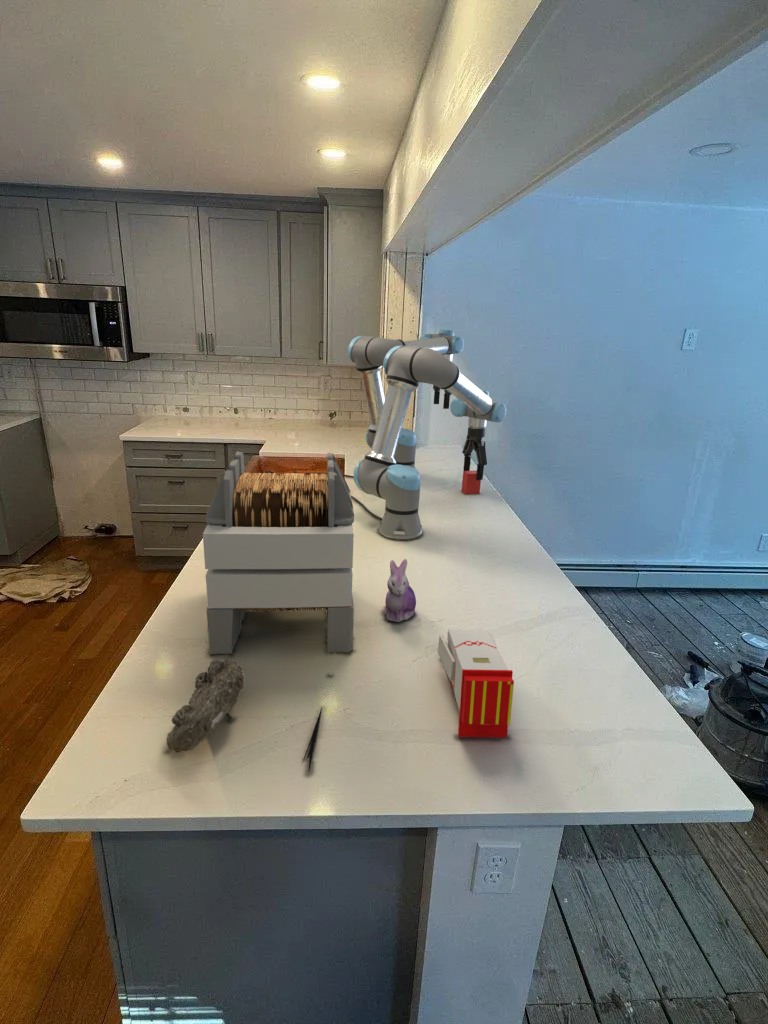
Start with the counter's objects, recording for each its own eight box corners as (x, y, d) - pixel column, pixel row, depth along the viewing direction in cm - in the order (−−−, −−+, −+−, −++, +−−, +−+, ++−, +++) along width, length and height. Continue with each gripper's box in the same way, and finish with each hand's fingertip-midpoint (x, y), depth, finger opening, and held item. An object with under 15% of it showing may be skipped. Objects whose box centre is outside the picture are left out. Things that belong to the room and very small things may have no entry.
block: (479, 493, 248) (481, 473, 245) (465, 494, 246) (467, 473, 243) (475, 490, 252) (477, 470, 249) (461, 491, 251) (463, 470, 247)
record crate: (229, 585, 158) (221, 442, 144) (346, 584, 161) (350, 444, 148) (206, 656, 126) (193, 481, 112) (353, 652, 130) (358, 483, 116)
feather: (331, 679, 122) (336, 673, 122) (307, 777, 96) (313, 769, 95) (324, 675, 122) (329, 669, 121) (298, 772, 95) (304, 764, 95)
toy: (488, 613, 130) (523, 677, 101) (484, 667, 133) (517, 744, 104) (435, 612, 130) (455, 676, 101) (432, 666, 133) (451, 743, 103)
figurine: (392, 627, 141) (395, 572, 136) (374, 608, 149) (376, 556, 144) (425, 619, 145) (429, 566, 140) (405, 601, 154) (408, 550, 149)
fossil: (192, 660, 117) (244, 628, 112) (224, 691, 120) (276, 661, 115) (142, 746, 98) (202, 712, 93) (182, 779, 101) (242, 748, 96)
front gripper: (498, 433, 229) (493, 483, 237) (473, 420, 252) (469, 466, 259) (481, 433, 227) (476, 484, 235) (457, 421, 250) (453, 467, 257)
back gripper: (461, 365, 267) (457, 410, 274) (442, 360, 290) (439, 402, 297) (446, 365, 265) (443, 410, 272) (428, 360, 288) (425, 402, 295)
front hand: (472, 475), depth 247 cm, fingers open, 13 cm apart
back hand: (441, 406), depth 285 cm, fingers open, 13 cm apart
